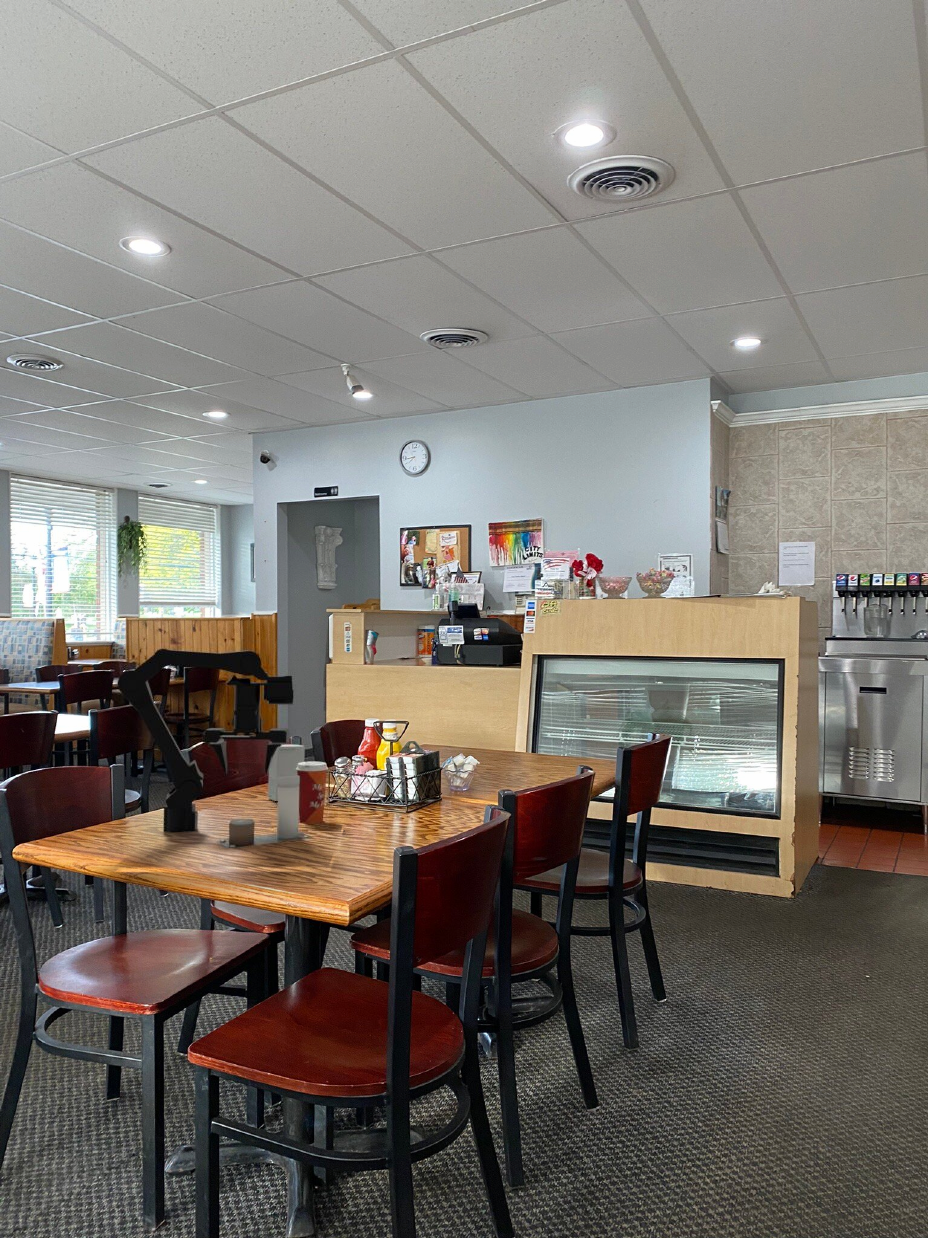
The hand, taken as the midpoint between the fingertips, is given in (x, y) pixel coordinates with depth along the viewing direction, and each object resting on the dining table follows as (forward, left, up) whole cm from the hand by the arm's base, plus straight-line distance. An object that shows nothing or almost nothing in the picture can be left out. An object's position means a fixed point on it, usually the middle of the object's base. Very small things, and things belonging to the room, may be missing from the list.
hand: (246, 773), depth 204 cm
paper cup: (+14, +10, -13) cm, 22 cm away
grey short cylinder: (+2, -15, -12) cm, 20 cm away
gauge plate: (+6, -13, -13) cm, 19 cm away
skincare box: (+4, +40, -13) cm, 42 cm away
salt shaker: (+11, -10, -12) cm, 19 cm away
